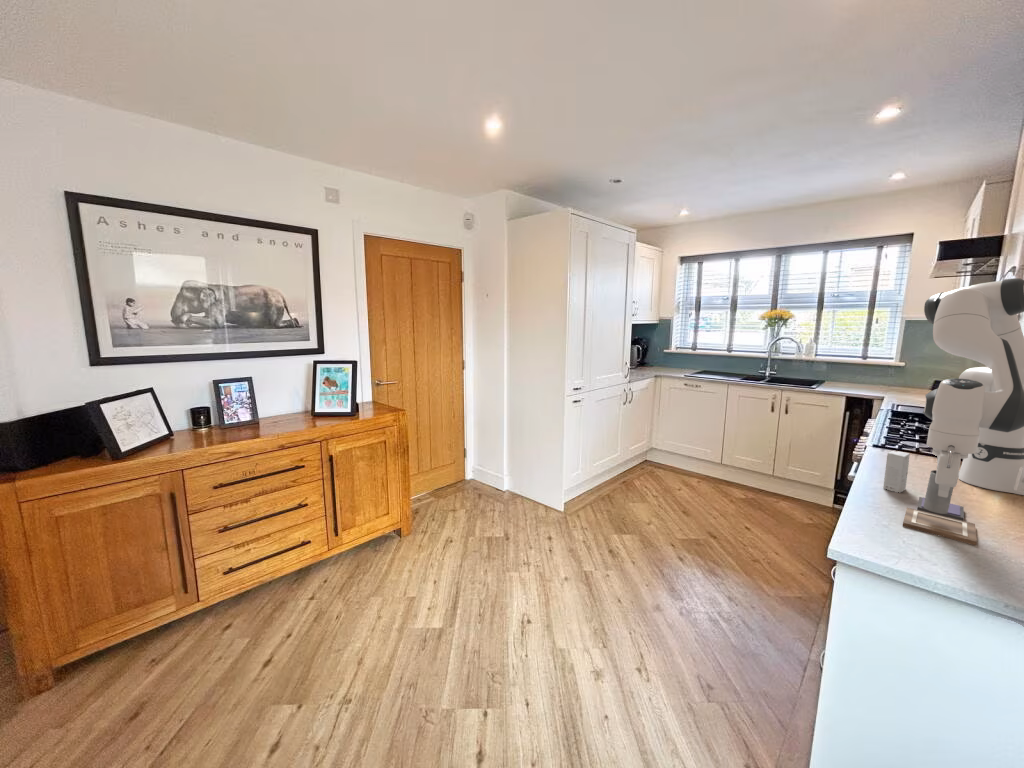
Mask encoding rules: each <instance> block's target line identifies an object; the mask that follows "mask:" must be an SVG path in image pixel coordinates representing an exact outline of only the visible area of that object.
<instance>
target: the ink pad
mask: <svg viewBox="0 0 1024 768" xmlns="http://www.w3.org/2000/svg"><path fill="white" fill-rule="evenodd" d="M924 501H925V497H922V496H919V498H918V502H917V507H916V510H920V511H924V512H928V513H932V514H936V515H940V516H945V517H949V518H953V519H957V520H961V521H965V520H964V519H965V512H964V505H963V506H961V505H960V504H956V503H955V504H954V503H950V505H949V509H948V513H947V514H940V513H935V512H932V511H929V510H927V509H925V508H924V507H923V506H924Z"/></svg>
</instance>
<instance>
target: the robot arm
mask: <svg viewBox="0 0 1024 768" xmlns="http://www.w3.org/2000/svg"><path fill="white" fill-rule="evenodd" d="M923 307H924V308H923V313H924V314H923V315H924V316H925V318H926V320H927V321H928V323H930V324H931V325H933V327H932V337H933V338H932V339H933V342H934V343H935V345H936V346H937V347H938V348H939V349H940V350H942V351H944V352H945V353H948V354H950V355H953V356H957V357H960V358H966V359H969V360H971V361H974V362H978V363H980V364H982V365H984V366H979V367H978V366H975V367H970V368H968V369H965V370H964V371H963V372H961V374H960V375H959V376H958V377H957V378H947V379H944V380H942V381H941V382H940V383H939V385H938V387H937V388H935V389H933V390H930V391H929V392H928V393H926V394H925V404H924V409H923V411H922V414H923V415H924V416H925V417H927V418H928V419H930V420H931V423H930V425H929V429H928V433H927V440H926V446H927V447H929V448H932V454H933V453H935V454H937V457H936V459H937V461H936V463H937V465H936V469H935V470H936V477H935V483H936V484H939V490H938V496H941V497H945V498H947V497H948V494H949V490H950V487H954V488H955V487H957V484H958V481H959V480H960V481H962V482H964V483H966V484H969V485H972V486H976V487H978V488H983V489H987V490H992V491H998V492H1005V493H1011V494H1016V495H1019V496H1024V334H1023V328H1022V327H1021V326H1022V325H1021V323H1020V321H1019V317H1018V314H1021V313H1024V278H1016V277H1015V278H1005V279H1003V280H996V281H990V282H989V281H988V282H982V283H977V284H972V285H969V286H965V287H960V288H956V289H953V290H949V291H947V292H944V291H943V292H939V293H937V294H934V295H932V296H930V297H928V299H927V300H925V302H924V306H923ZM961 459H962V462H961Z"/></svg>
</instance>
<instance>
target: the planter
mask: <svg viewBox="0 0 1024 768" xmlns="http://www.w3.org/2000/svg"><path fill="white" fill-rule="evenodd" d="M936 470H937V469H935V470H934V469H933V470H931V471H930V474H929V478H928V483H927V488H926V492H925V493H926V494H925V497H924V498H925V501H924V506H923V507H924V508H925V509H927V510H929V511H932V512H935V513H940V514H947V513H948V509H949V505H950V504H951V499H952V496H953V493H954V488H955V487H950V490H949V494H948V497H947V498H945V497H941V496H938V490H939V484H936V483H935V477H936Z"/></svg>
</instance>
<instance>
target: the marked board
mask: <svg viewBox="0 0 1024 768" xmlns="http://www.w3.org/2000/svg"><path fill="white" fill-rule="evenodd" d="M904 526H905V528H909V529H913V530H916V531H920V532H923V533H928V534H930V535H934V534H935V536H938V535H939V537H943V538H946V539H950V540H954V541H958V542H960V543H961V542H962V543H965V544H969V545H972V546H977V544H978V543H977V542H978V541H977V530H976V523H972V522H969V521H965V520H964V521H961V520H957V519H953V518H949V517H945V516H940V515H936V514H932V513H928V512H924V511H920V510H917V508H916V509H915V508H911V507H906V510H905V514H904V518H903V521H902V527H904Z"/></svg>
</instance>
